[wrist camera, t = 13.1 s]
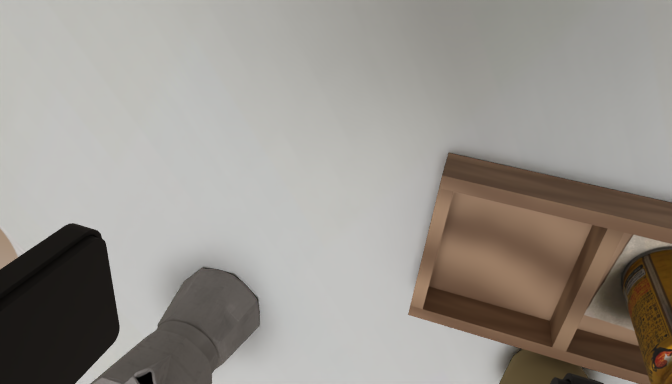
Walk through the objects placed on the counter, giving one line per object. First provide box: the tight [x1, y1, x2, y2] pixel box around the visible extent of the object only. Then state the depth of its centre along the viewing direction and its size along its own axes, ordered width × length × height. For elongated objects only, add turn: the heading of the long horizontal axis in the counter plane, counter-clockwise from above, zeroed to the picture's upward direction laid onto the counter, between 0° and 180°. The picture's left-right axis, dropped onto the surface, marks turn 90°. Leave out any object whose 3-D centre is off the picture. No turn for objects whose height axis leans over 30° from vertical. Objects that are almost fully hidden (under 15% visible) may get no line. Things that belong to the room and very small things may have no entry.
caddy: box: [408, 153, 672, 384], centre depth 36 cm, size 13×23×4 cm, turn 84°
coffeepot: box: [91, 268, 260, 384], centre depth 46 cm, size 15×9×18 cm, turn 156°
